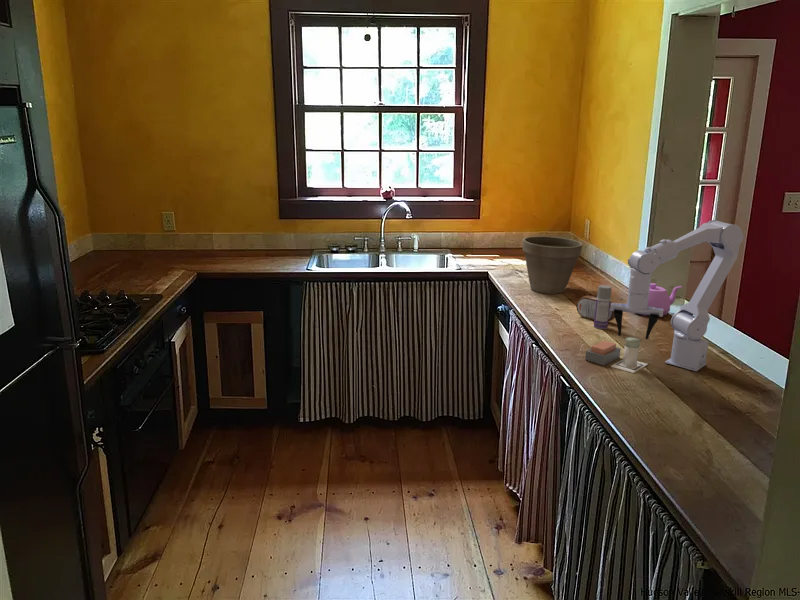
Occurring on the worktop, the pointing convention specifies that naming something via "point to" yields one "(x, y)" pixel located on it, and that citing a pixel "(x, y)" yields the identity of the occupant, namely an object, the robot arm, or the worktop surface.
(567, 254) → the plant pot
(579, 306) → the tin
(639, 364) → the paper sheet
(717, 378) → the worktop surface
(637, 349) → the marker
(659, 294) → the teapot
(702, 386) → the worktop surface
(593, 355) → the button housing
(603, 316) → the container
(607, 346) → the button
